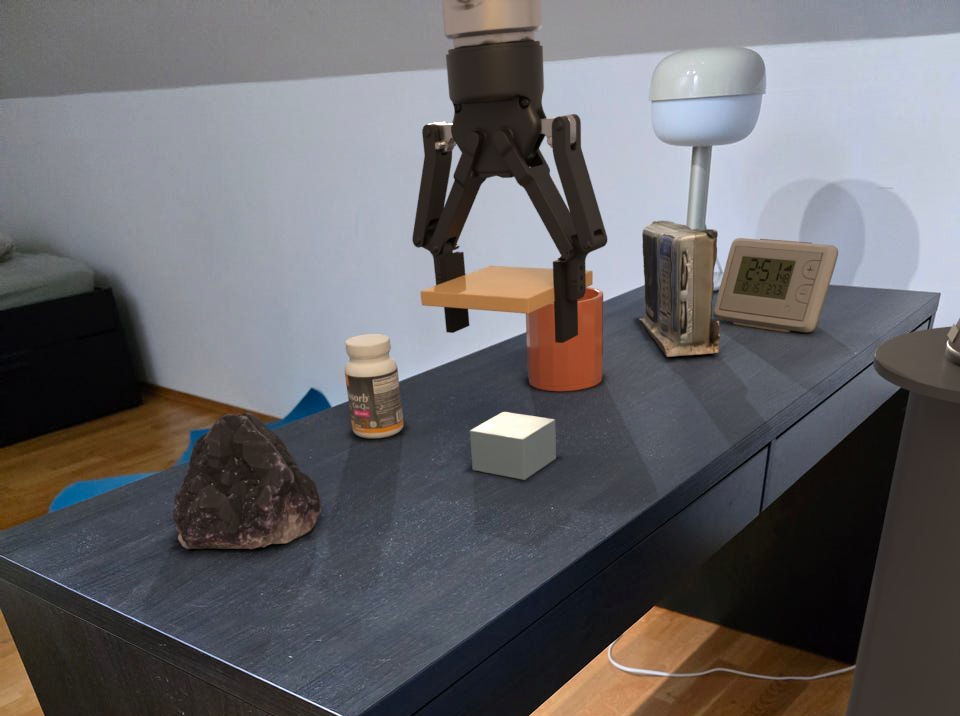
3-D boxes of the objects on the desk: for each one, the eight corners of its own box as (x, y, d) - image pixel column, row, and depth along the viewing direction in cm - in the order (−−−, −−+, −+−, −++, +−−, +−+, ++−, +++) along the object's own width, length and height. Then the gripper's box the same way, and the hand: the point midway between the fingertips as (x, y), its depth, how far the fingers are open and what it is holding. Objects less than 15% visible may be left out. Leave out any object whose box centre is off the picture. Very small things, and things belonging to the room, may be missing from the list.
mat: (592, 284, 79) (592, 270, 78) (528, 314, 71) (528, 298, 71) (490, 278, 84) (489, 265, 83) (421, 305, 77) (419, 291, 76)
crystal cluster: (255, 580, 71) (243, 462, 66) (134, 539, 76) (115, 427, 71) (353, 525, 81) (350, 418, 76) (241, 492, 86) (231, 391, 81)
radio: (638, 318, 132) (641, 208, 124) (697, 315, 131) (704, 204, 123) (650, 362, 112) (654, 235, 104) (719, 359, 111) (729, 230, 103)
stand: (556, 458, 87) (555, 419, 85) (524, 480, 83) (522, 439, 81) (505, 449, 90) (503, 411, 88) (472, 470, 86) (469, 430, 84)
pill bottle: (342, 433, 97) (328, 342, 92) (382, 419, 100) (371, 329, 95) (375, 444, 94) (361, 349, 88) (415, 428, 97) (405, 336, 92)
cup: (614, 373, 109) (616, 288, 104) (579, 395, 103) (579, 306, 98) (552, 366, 114) (550, 284, 108) (515, 386, 108) (511, 300, 102)
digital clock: (706, 320, 128) (711, 241, 122) (751, 309, 131) (758, 232, 126) (792, 340, 116) (803, 254, 110) (839, 328, 119) (852, 243, 114)
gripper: (347, 56, 71) (384, 334, 83) (607, 26, 59) (607, 356, 71) (404, 52, 76) (432, 315, 88) (655, 24, 64) (647, 332, 76)
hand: (510, 333), depth 79 cm, fingers closed on mat, 11 cm apart
